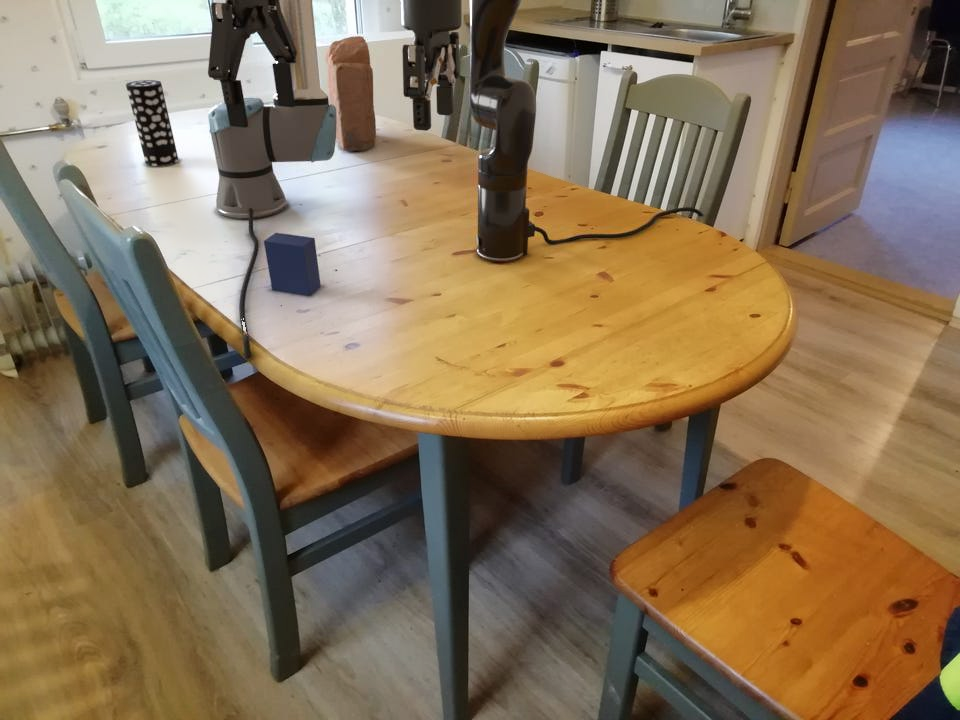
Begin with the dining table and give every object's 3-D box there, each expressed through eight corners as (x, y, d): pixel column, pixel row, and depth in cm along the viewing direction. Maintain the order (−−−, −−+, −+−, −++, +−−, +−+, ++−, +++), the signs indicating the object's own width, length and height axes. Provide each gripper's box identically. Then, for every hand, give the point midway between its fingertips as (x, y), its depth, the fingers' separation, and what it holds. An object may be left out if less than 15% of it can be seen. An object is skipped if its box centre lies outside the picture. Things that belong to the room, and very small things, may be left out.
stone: (383, 150, 197) (374, 42, 182) (343, 153, 194) (332, 44, 179) (369, 134, 214) (360, 34, 200) (332, 137, 211) (321, 36, 197)
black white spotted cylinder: (184, 157, 190) (167, 80, 179) (169, 166, 183) (151, 87, 172) (155, 156, 190) (136, 79, 179) (139, 165, 183) (119, 86, 172)
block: (283, 280, 127) (275, 232, 122) (320, 286, 125) (314, 237, 120) (271, 290, 124) (263, 240, 118) (310, 296, 122) (303, 246, 117)
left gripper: (265, -45, 108) (284, 97, 119) (158, -36, 88) (193, 133, 99) (308, -44, 106) (323, 100, 118) (208, -34, 86) (238, 138, 98)
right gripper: (423, -19, 91) (427, 108, 100) (378, -11, 80) (387, 132, 88) (477, -17, 89) (476, 112, 98) (438, -8, 78) (441, 137, 87)
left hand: (264, 116), depth 108 cm, fingers open, 13 cm apart
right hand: (434, 121), depth 93 cm, fingers open, 8 cm apart
